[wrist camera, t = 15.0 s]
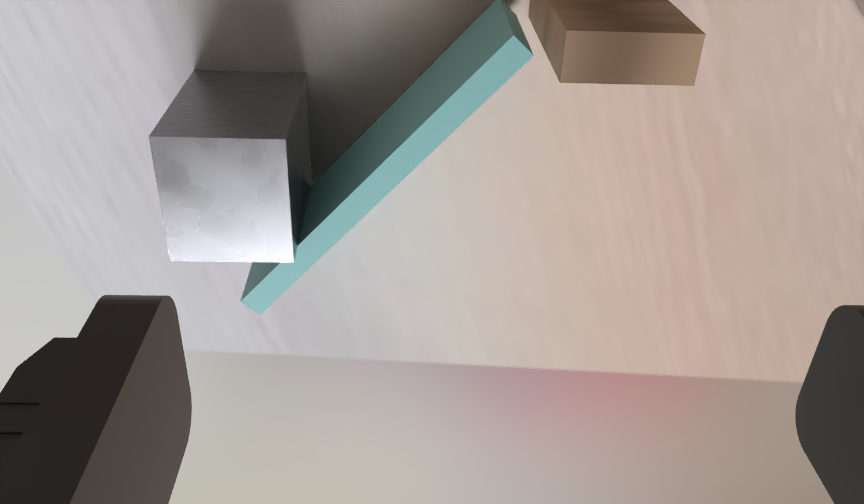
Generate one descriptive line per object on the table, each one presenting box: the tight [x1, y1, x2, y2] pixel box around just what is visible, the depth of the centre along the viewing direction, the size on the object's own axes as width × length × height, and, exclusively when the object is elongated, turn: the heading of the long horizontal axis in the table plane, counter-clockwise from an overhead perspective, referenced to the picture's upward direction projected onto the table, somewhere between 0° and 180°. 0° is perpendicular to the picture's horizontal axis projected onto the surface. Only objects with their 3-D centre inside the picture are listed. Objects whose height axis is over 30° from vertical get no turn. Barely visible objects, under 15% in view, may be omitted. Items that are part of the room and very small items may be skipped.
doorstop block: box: [149, 70, 312, 263], centre depth 37 cm, size 6×6×8 cm
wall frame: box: [529, 0, 705, 86], centre depth 33 cm, size 5×2×9 cm, turn 88°
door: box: [241, 0, 534, 315], centre depth 37 cm, size 18×1×6 cm, turn 136°
